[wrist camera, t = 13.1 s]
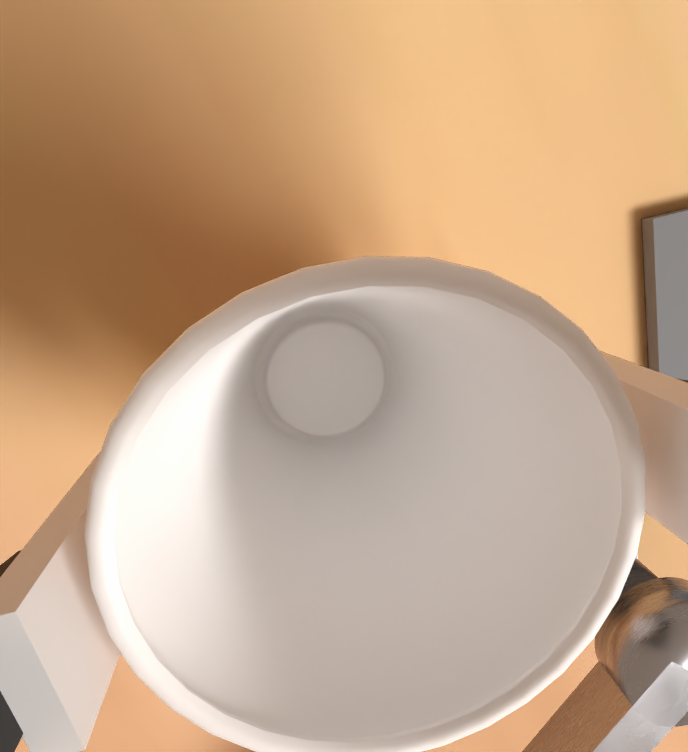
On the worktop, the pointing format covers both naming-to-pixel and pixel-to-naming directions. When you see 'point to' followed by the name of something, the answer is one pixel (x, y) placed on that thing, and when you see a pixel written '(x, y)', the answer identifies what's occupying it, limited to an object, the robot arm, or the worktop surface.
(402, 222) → the worktop surface
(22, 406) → the worktop surface
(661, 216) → the mat
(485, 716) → the cup
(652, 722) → the lever
